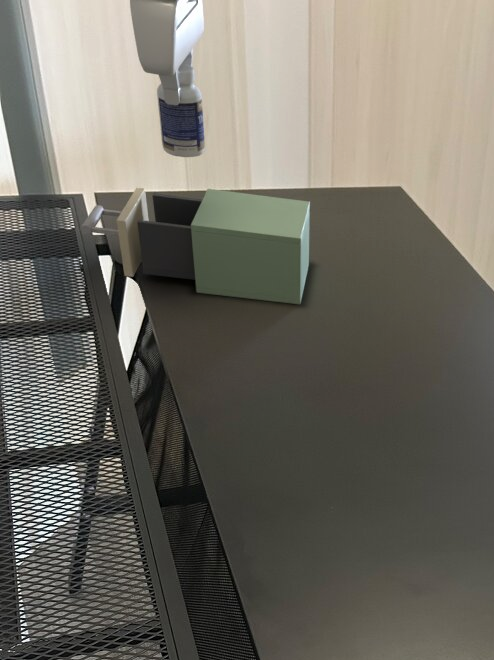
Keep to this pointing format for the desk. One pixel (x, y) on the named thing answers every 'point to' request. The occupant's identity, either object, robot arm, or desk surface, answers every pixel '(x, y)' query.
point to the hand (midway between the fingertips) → (178, 95)
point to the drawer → (152, 234)
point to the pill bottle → (183, 118)
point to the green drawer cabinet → (251, 246)
